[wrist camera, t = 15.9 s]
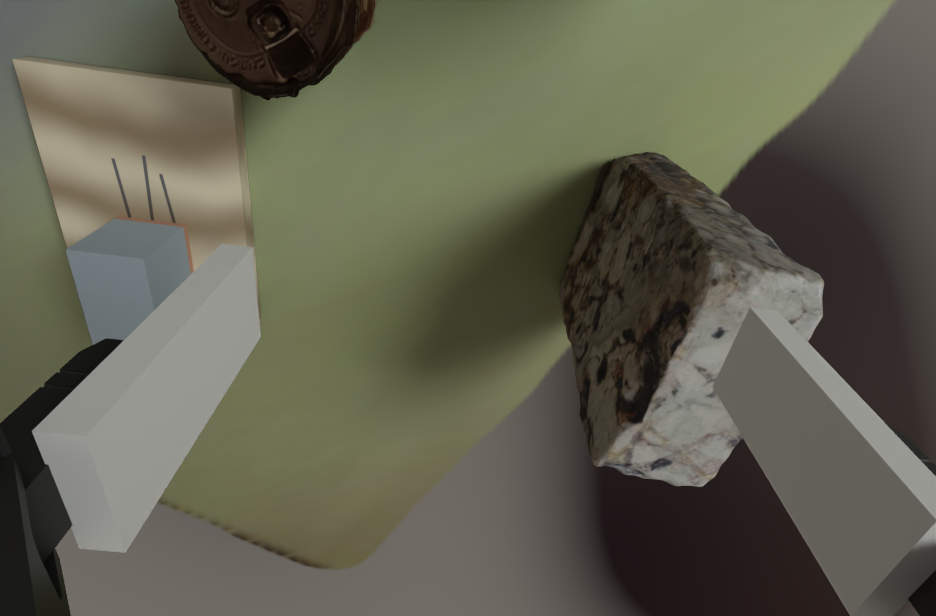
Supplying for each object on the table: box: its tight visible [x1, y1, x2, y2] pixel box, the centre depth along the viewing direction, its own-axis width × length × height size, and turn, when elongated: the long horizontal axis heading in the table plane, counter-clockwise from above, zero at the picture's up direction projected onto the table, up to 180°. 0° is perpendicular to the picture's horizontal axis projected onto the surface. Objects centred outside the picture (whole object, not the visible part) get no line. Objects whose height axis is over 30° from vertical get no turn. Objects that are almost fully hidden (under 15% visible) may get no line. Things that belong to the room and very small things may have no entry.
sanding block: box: [65, 216, 194, 345], centre depth 39 cm, size 8×5×6 cm, turn 172°
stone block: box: [559, 152, 824, 487], centre depth 33 cm, size 13×7×20 cm, turn 171°
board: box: [12, 57, 261, 320], centre depth 40 cm, size 19×14×2 cm
